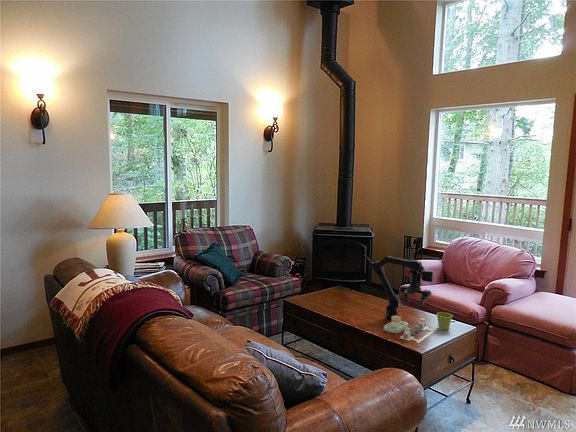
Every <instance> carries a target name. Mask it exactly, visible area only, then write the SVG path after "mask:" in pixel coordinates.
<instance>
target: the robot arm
mask: <svg viewBox="0 0 576 432" xmlns="http://www.w3.org/2000/svg"><path fill="white" fill-rule="evenodd" d="M389 263H390V264H394V265H398V266H403V267H406V268H408V269H409V270H408V271H407V272H408V274H410V275H411V277H410V278H411V279H410V282H409V285H402V286H400V288H399V292H401V293H402V294H403V295H404V297H405V300H406V303H409V301H410V294H411V295H415V294H416V293H417V294H421V297H420V298H421V300H420V301H421V302H420V306H421V307H423V305H424V303H425V301H426V299H427V298H428V297H430V296H432V291H431V290H427V289H424V290H422V287H421V284H422V282H424V283H425V282H426V283H432V284H433V283H434V277H435V276H434V271H429V270H426V269H425V268H424V266H423V263H422V262H421V260H419V259H405V258H400V257H395V256H391V255H386V256H384V258H382V259H381V260H377V261H375V262H373V263H372V265H371V268H372V270H373V272H374V273H375V274H376V275H377V277H378V278H379V280H380V282H381V284H382V286H383V288H384V290H385V292H386V295H387V299H388V305H386V307H385V309H386V313H385V317H384V318H385V319H387V320H392V318H391V317H392V316H394V315H396V316H399V312H398V307H400V306H401V303H402V301H401V300H402V299H401V298H400V296H399V294H396V293H395V292H394V290H393V288H392V286H391V283H390V280H389V279H388V277H387V274H386V272H385V265H386V264H389Z"/></svg>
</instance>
